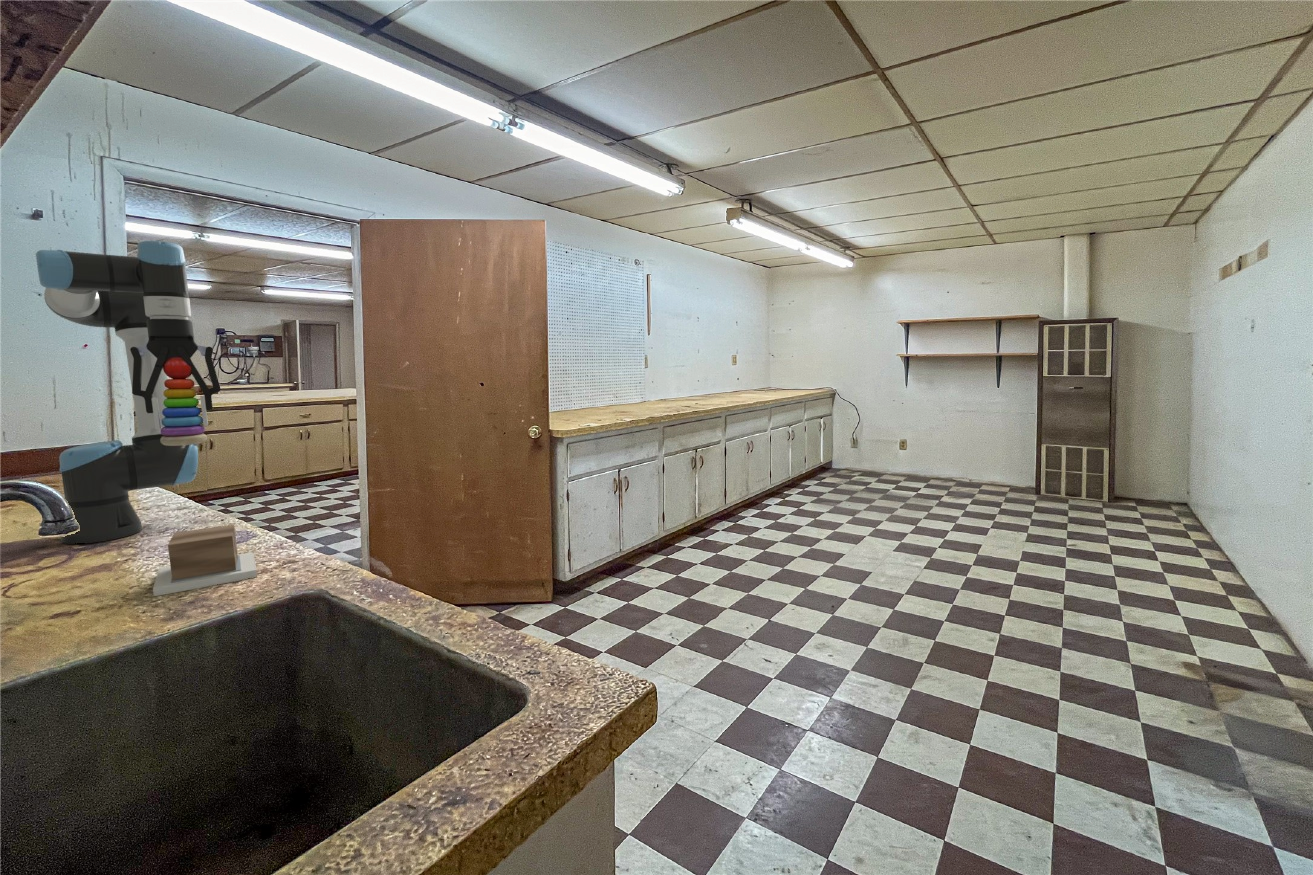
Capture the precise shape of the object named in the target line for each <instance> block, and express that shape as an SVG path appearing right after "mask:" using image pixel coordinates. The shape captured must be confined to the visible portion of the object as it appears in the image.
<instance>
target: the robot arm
mask: <svg viewBox="0 0 1313 875" xmlns="http://www.w3.org/2000/svg"><path fill="white" fill-rule="evenodd" d="M35 257H36V259H35V260H36V266H37V268H36V269H37V273H38V279H39V284H40V285H41V286H42V287H43V288H45V290H44V297H43V298H44V300H45V301H44V302H45V304H46V305H47V307H48V308H49V309H50V310H51V312H53V313H54V314H55V315H57V316H59V317H60V318H63V319H64V320H66V321H70V322H72V323H75V324H79V325H83V326H88V327H93V328H112V329H114V332H115V336H117V337H118V338H119V339H121V340H122V341H123V342H124V346H125V347H124V348H125V352H126V353H125V354H126V360H127V367H128V372H129V380H130V385H131V394H132V398H133V399H132V400H133V406H134V412H135V418H136V426H137V432H136V433H135V434H133V436H132V437H131V443H132V444H128V445H127V444H126V445H123V442H122V441H121V440H118V439H115V440H113V439H111V440H106V441H98V442H94V443H88V444H82V445H78V446H73V447H70V448H67V449H65V450H63V451H62V452H61V453H60V455H59V457H58V458H59V459H58V460H59V470H58V471H59V473H60V472H61V479H62V480H61V481H62V488H63V496H64V500H65V499H66V500H67V501H68V503H69V505H70V506H71V508H72V510H73V512H74V515H75V519H76V520H77V522H78V523H79V525H80V531H78V532H76V533H75V534H71V535H67V536H65V537H60V536H59V537H60V542H61V543H62V544H65V545H78V544H77V543H85V544H92V543H94V544H95V543H99V542H107V541H111V540H116V539H122V538H124V537H129V536H132V535H135V534H137V533H140V532H141V531H143V524H142V520H141V519H140V517H139V515H138V514H137V512H136V511H135V509H134V507H133V505H132V504H131V502H130V496H129V491H135V490H136V491H137V490H144V489H153V488H160V487H161V488H162V487H167V486H168V487H169V486H173V487H174V486H176V485H181V484H182V485H183V484H187V483H191V482H193V480H195V478H196V476H197V474H198V473H197V472H198V465H199V448H198V444H192V445H180V446H167V445H163V444H162V443H161V442H160V439H161V438H162V437H163V436H164V435H162V434H161V428H163V427H165V426H164V425H163V424H162V419H163V418H165V416H164V415H163V414H162V411H163V409H164V408H167V407H165V406H164V404H163V402H164V400H165V399H167V398H166V397H165V396H164V391H165V390H166V389H169V388H167V387H165V385H164V382H165V381H166V380H167V379H173V378H170V377H168V376H167V375H166V374H165V373H164V370H163V365H164V363H165V362H166V361H167V360H169V359H171V358H175V357H179V358H182V359H183V361H185V362H186V363H187V365H188V366H191V376H193V378H194V380H195V382H196V383H197V385H198V386H199V388H200V389H201V391H202V393H203V395H200V396H199V398H200V406H201V407H200V409H201V414H202V416H201V417H202V418H203V423H202V424H203V425H202V426H204V427H209V422H208V421H209V419H208V412H207V411H212V410H213V399H212V395H213V394H217V393H219V392H221V386H220V382H219V379H218V375H217V372H216V368H215V364H214V361H213V358H212V357H213V353H214V352H213V351H214V350H213V349H214V348H213V347H211V346H203V345H198V343H197V342H196V341H195V334H194V324H193V321H192V320H191V319H190V318H191V317H192V310H191V299H190V295H189V288H188V287H189V286H188V277H187V275H188V274H187V268H186V267H187V266H186V264H187V260H186V258H185V252H184V249H183V247H182V246H181V245H179V244H178V243H175V242H174V243H173V242H169V241H160V240H143V241H140V242H138V243H137V255H136V256H130V255H129V256H127V255H114V254H103V253H102V254H101V253H93V252H92V253H91V252H77V251H70V250H69V251H67V250H63V249H62V250H61V249H55V250H54V249H53V250H51V249H50V250H49V249H39V250H38V251H37V252H36V253H35ZM197 351H199V352H200V356H203V357H204V361H205V364H206V367H207V371H208V375H209V377H210V381H211V384H212V387H210V388H209V386H208V385H207V383H206V382H205V380H204V379H203V377H202V375H201V373H200V372H199V370H198V368H197V367H196V365H195V364H194V362H193V361H192V359H191V358H192V357H193V356H194V355H195V353H196V352H197ZM75 543H76V544H75Z"/></svg>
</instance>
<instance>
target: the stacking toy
mask: <svg viewBox="0 0 1313 875" xmlns="http://www.w3.org/2000/svg"><path fill="white" fill-rule="evenodd" d="M163 370H164V373H165V374H166V375H167V376H168V377H170V378H172V379H167V380H166V381H165V382H164V385H165V387H167V388H169V389H166V390H165V391H164V396H165V397H166V398H167V399H165V400H164V402H163V404H164V406H165V407H167V408H164V409H163V411H162V414H163V415H164V416H165V418H163V419H162V424H163V425H164V426H165V427H163V428H161V434H162V435H164V436H163V437H162V438H161V439H160V442H161V443H162V444H163V445H167V446H180V445H192V444H197V445H198V444H199V445H201V444H202V443H203V444H204V443H206V442H207V440H208V436H207V435H206V434H205V431H206V427H205V426H204V425H202V424H203V416H201V413H202V409H201V408H200V407H198V406H199V403H200V402H199V399H198V398H197V397H196V395H197V391H196V390H195V389H193V388H194V387H195V381H194V380H193V379H191V378H190V377H191V376H192V374H191V366H188V365H187V363H186V362H185V361H183V359H182V358H179V357H175V358H171V359H169V360H167V361H166V362H165V363H164V365H163Z"/></svg>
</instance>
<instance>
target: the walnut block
mask: <svg viewBox="0 0 1313 875" xmlns="http://www.w3.org/2000/svg"><path fill="white" fill-rule="evenodd" d="M235 529H236V527H235V524H229V525H221V526H213V527H212V526H211V527H206V528H198V529H191V530H184V531H183V530H182V531H176V532H174V533H173V534H172V537H171V538H170V540H169V542H168V544H167V549H168V556H169V557H168V558H169V566H171V574H172V581H173V580H179V579H185V578H191V577H197V576H203V575H209V574H215V573H221V572H227V571H233V570H236V567H237V559H238V555H239V553H238V545H237V537H236V536H237V534H236V530H235Z"/></svg>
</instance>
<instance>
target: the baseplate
mask: <svg viewBox="0 0 1313 875" xmlns="http://www.w3.org/2000/svg"><path fill="white" fill-rule="evenodd" d="M254 554H255V553H254V551H253V552H246V553H240V554H239V553H238V559H237V567H236V570H233V571H227V572H221V573H215V574H209V575H203V576H197V577H191V578H185V579H179V580H173V581H172V574H171V566H170V565H169V566H164V567H159V568H158V570H157V574H156V577H155V580H154V584H153V587H152V592H153V597H158V596H163V595H168V594H169V595H170V594H174V593H180V592H184V591H185V592H186V591H190V590H196V589H201V588H207V587H211V586H216V585H217V584H218V585H223V584H229V583H234V582H238V581H244V580H248V578H250V579H254V577H255V578H258V573H257V572H258V571H257V566H256V559H255V555H254ZM233 581H234V582H233ZM218 585H217V586H218Z"/></svg>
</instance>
